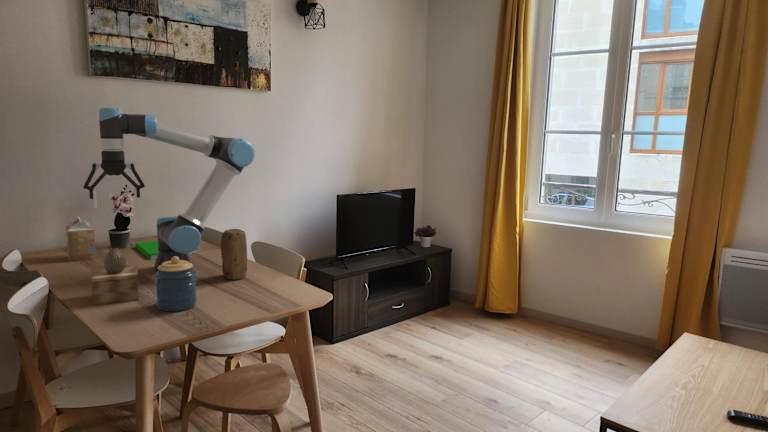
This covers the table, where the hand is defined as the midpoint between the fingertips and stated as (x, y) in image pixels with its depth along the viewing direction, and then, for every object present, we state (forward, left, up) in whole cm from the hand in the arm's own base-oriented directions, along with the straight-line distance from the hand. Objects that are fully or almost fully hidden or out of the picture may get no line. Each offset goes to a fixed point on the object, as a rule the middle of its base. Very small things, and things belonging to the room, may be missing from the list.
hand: (116, 207), depth 190 cm
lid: (+1, +15, -22) cm, 27 cm away
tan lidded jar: (+17, -51, -31) cm, 62 cm away
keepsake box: (+1, +15, -31) cm, 34 cm away
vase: (+1, +15, -22) cm, 26 cm away
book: (-19, -54, -31) cm, 65 cm away
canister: (-18, +32, -31) cm, 48 cm away
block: (-42, +4, -31) cm, 52 cm away
